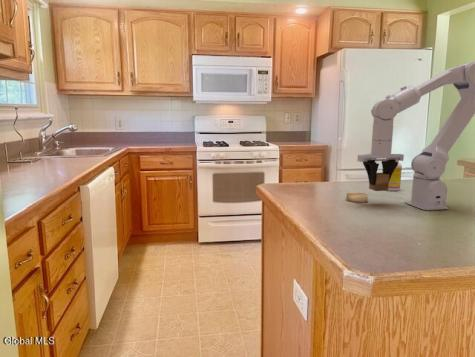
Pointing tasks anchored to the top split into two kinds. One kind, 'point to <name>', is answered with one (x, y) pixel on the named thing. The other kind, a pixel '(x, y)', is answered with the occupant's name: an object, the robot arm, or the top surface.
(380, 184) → the walnut block
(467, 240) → the top surface
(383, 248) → the top surface
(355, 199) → the maple plinth
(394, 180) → the supplement bottle
